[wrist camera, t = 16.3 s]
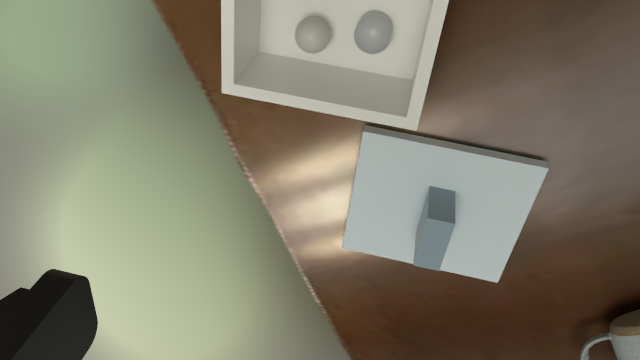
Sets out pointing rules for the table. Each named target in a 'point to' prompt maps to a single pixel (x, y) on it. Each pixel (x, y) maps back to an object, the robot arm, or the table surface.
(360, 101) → the box
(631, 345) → the ceramic mug
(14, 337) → the robot arm
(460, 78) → the table surface
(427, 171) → the lid
